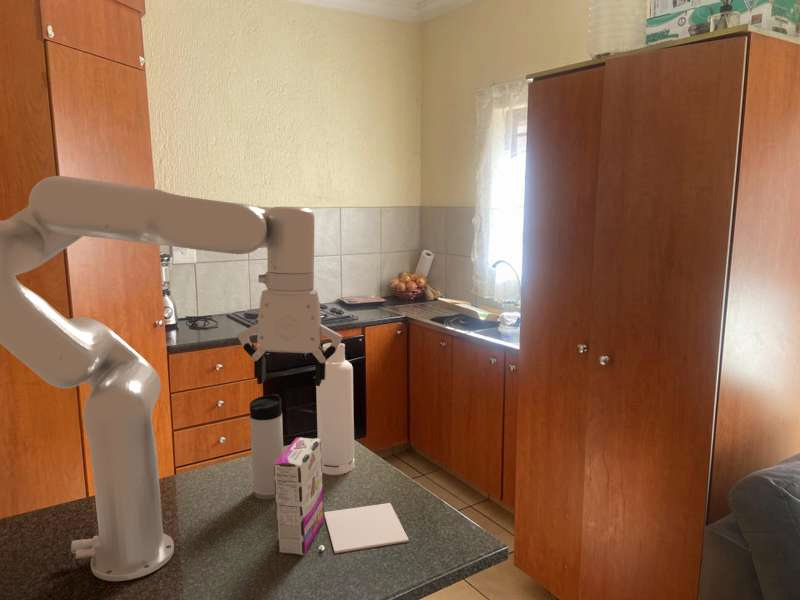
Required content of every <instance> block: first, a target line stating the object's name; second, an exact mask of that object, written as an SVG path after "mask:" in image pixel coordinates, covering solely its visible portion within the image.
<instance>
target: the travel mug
mask: <svg viewBox="0 0 800 600" xmlns="http://www.w3.org/2000/svg"><path fill="white" fill-rule="evenodd" d="M249 425H250V443H251V444H250V445H251V448H250V449H251V468H252V485H253V488H252V489H253V490H252V491H253V496H254V497H255V498H257V499H258V500H259V499H260V500H262V501H263V500H266V501H268V500H273V499H276V496H275V479H274V463H275V462H276V461H277V460H278V458H279V457H280V456H281V455H282V454H283V453H284V438H283V437H284V435H283V434H284V433H283V432H284V431H283V427H284V426H283V413H282V399H281V395H280V394H276V393H272V394H270V395H269V394H268V395H262V396H259V397H256V398H254V399H253V400H251V401H250V402H249Z"/></svg>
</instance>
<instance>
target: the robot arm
mask: <svg viewBox="0 0 800 600" xmlns="http://www.w3.org/2000/svg"><path fill="white" fill-rule="evenodd" d="M28 197H29V198H28V206H26V207H25V208H23V209H22V210H20V211H19V212H17V213H16V214H14V215H12V216H10V217H9V218H8V219H6V220H5V219H3V220H0V345H1V346H2V347H4V349H6V350H7V351H8V352H9V353H10V354H12V355H13V356H14V357H15V358H17V359H18V360H19V361H20V362H22V363H23V364H24V365H25V366H26V367H27V368H29V369H30V370H31V371H32V372H34V374H36V375H37V376H38V377H39V378H40V379H41V380H43V381H44V382H45V383H47V384H49V385H50V386H52V387H55V388H58V389H71V388H75V387H78V386H80V385H83V384H84V383H85V384H86V385H87V386H88V387H90V388H91V390H89V393H88V395H87V397H86V399H85V402H84V405H83V411H82V419H83V420H82V421H83V427H84V430H85V434H86V439H87V442H88V447H89V453H90V460H91V462H90V463H91V469H92V478H93V486H94V487H93V488H94V497H95V507H96V510H95V511H96V518H97V531H98V535H94V536H93V537H92V538H87V539H85V538H83V539H77V540H76V539H75V540H72V541H71V546H70V550H71V553H72V554H75V559H76V560H81V559H86V558H91V560H90V569H91V572H92V575H93V576H95V578H98V579H100V580H103V581H107V582H125V581H130V580H135V579H139V578H142V577H145V576H147V575H150V574H152V573H154V572H155V571H157V570H159V569H160V568H162V567H164V565H165V564H167V563H168V562H169V561H170V559H171V558H172V557H173V555H174V552H175V544H174V543H175V542H174V539H172V537H171V536H169V535H168V534H166V533H164V529H163V514H162V501H161V490H160V489H161V488H160V475H159V465H158V464H159V463H158V454H157V445H156V444H157V443H156V437H155V431H154V425H153V411H154V409H155V406H156V403H157V402H158V400H159V398H160V394H161V390H162V382H161V379H160V375H159V374H158V372H157V370H156V369H155V367H153V366H152V365H151V363H149V362H148V361H147V360H146V358H144V357H143V356H142V355H140V353H138V352H137V351H136V350H135V349H134V348H133V347H132V346H130V345H129V344H128V343H127V342H126V341H125V340H124V339H122V338H121V337H120V336H119V335H118V334H116V332H114V331H113V330H112V329H111V328H109V327H108V326H107V325H105V324H104V323H102V322H100V321H98V320H97V319H94V318H90V317H84V316H82V317H81V316H79V317H78V316H77V317H73V318H69V319H68V318H66V317H64V316H63V315H62V314H61V313H60V312H58V310H56V309H55V308H54V307H53V306H52V305H51V304H49V302H48V301H47V300H45V299H44V298H43V297H42V296H40V295H38V294H37V293H36V292H34V291H32V290H31V289H30V288H28V287H26V286H25V285H23V284H22V283H21V282H20V281H19V280H18V279H17V277H16V276H18V275H21V274H24V273H28V272H30V271H33V270H35V269H36V268H38V267H40V266H42V265H44V264H45V263H46V262H48V261H49V260H51V259H53V258H55V256H57V255H58V254H60V253H61V252H62V251H64V250H66V249H67V248H68V247H70V246H72V245H73V244H74V243H76V242H77V241H78V240H80V239H82V238H83V237H90V238H101V239H108V240H117V241H124V242H131V243H139V244H140V243H141V244H147V245H148V244H149V245H151V246H152V245H153V246H167V247H175V248H181V249H188V250H197V251H205V252H213V253H222V254H231V255H246V254H250V253H253V252H254V251H255V252H256V251H257V250H258V249H265V248H266V250H267V251H266V252H267V254H266V255H267V264H266V265H267V271H266V272H265V273H264V274H259V275H258V283H262V284H265V288H266V289H264V290H262V291H261V294H260V295H261V296H260V300H259V301H260V302H259V309H258V319H257V323H256V324H254V325H252V326H250V327H247V328H246V329H244V330H242V331H240V332H239V333H237V338H238V340H239V342H240V344H241V345H242V347H243V351H245V352H246V353H247V354H248V355H249V356H250V358H251V360H252V361H253V365H254V366H253V367H254V368H253V371H254V375H253V376H254V378H255V379H257V383H256V384H257V385H262V384H263V383H264V382H265V381H266V379H267V370H266V369H267V360H266V358H267V357H265V355H264V354H265V353H266V352H268V353H291V354H293V353H294V354H295V353H296V354H309V353H310V354H311V353H312V355H313V356H314V357H315V359H317V360H316V362H315V368H314V369H315V370H314V371H315V372H314V374H315V375H314V376H315V378H314V385H315V387H316V386H320V384H321V382H322V380H325V364H326V360H327V359H328V358H329V357H330V356H332V355H333V354H334V353H335V351H336V349H337V348H338V346H339V344H340V343H342V340H343V335H342V334H340V333H338V332H336V331H334V330H332V329H331V328H328V327H327V326H325V325H323V324H322V315H321V313H322V312H321V305H320V300H319V299H320V298H319V297H320V296H319V293H318V290H315V282H314V281H315V273H314V272H315V267H314V266H315V215H314V212H313V211H312V209H310V208H307V207H300V206H275V207H265V206H257V205H254V204H253V205H252V204H248V203H237V202H230V201H229V202H228V201H222V200H221V201H220V200H211V199H207V198H206V199H205V198H200V197H191V196H187V195H186V196H184V195H179V194H174V193H170V192H167V191H164V190H161V189H158V188H152V187H147V186H139V185H134V184H123V183H116V182H109V181H101V180H96V179H88V178H87V179H86V178H82V177H81V178H80V177H79V178H78V177H73V176H68V175H67V176H65V175H54V176H53V175H52V176H49V177H45V178H43V179H41V180H40V181H38V182H37V183H36V184H35V185H34V186H33V187H32V189H31V191H30V193H29V196H28ZM255 334H257V335H256V336H257V337H256V339H257V341H256V342H257V343H256V344H257V346H255V344H253V343H252V342H251V339H250V337H251V336H254V335H255ZM322 336H323V337H325V338H327V339H329V340H331V342H330V343H331V345H330V346H329V347H328V348H327V349H326V350H324V349H323V346H321V342H322Z"/></svg>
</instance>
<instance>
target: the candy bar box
mask: <svg viewBox="0 0 800 600" xmlns="http://www.w3.org/2000/svg"><path fill="white" fill-rule="evenodd" d="M274 479H275V496H276V498H275V506H276V509H275V510H276V522H277V523H276V525H277V543H278V553H280V554H285V555H297V556H306V553H307V551H308V550H309V548H310V547H311V544H312V543H313V541H314V539H315V538H316V536H317V534H318V532H319V531H320V530H321V527H322V526H323V524H324V521H325V516H324V512H325V508H324V489H323V487H324V486H323V483H324V482H323V472H322V460H321V439H318V438H313V437H312V438H311V437H304V436H303V437H302V436H301V437H299V436H298V437H296V438H295V439H294V440H293V441H292V443H290V445H289V446H287V448H286V449H285V450H284V451H283V454H282V455H281V456H280V457H279V458H278V460H277V461H276V462H275V463H274Z"/></svg>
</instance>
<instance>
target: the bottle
mask: <svg viewBox="0 0 800 600" xmlns="http://www.w3.org/2000/svg"><path fill="white" fill-rule="evenodd" d="M331 343H332V342H328V343H324V344H323V345H322V348H323V349H324V350H326V349H327V348H328V347H329V346H330V345H331ZM345 347H346V344H345V343H342V342H340V344H339V346H338V348H337V349H336V351H335V353H334V354H333V355H332V356H330V357H329V358H328V359H327V360H326V364H325V380H322V382H321V384H320V386H316V385H315V387H316V389H315V391H316V394H315V396H316V423H317V425H316V428H317V430H316V431H317V439H321V460H322V474H326V475H330V476H331V475H332V476H338V475H339V476H340V475H344V473H345V474H348V473H350V472H351V471H353V470H354V469H353V468H355V425H354V424H355V423H354V422H355V421H354V415H355V414H354V367H353V365H352V363H351V362H349V361H348V360H347V359H346V354H345V353H346V351H345V350H346V349H345ZM349 471H350V472H349ZM347 472H348V473H347Z"/></svg>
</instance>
